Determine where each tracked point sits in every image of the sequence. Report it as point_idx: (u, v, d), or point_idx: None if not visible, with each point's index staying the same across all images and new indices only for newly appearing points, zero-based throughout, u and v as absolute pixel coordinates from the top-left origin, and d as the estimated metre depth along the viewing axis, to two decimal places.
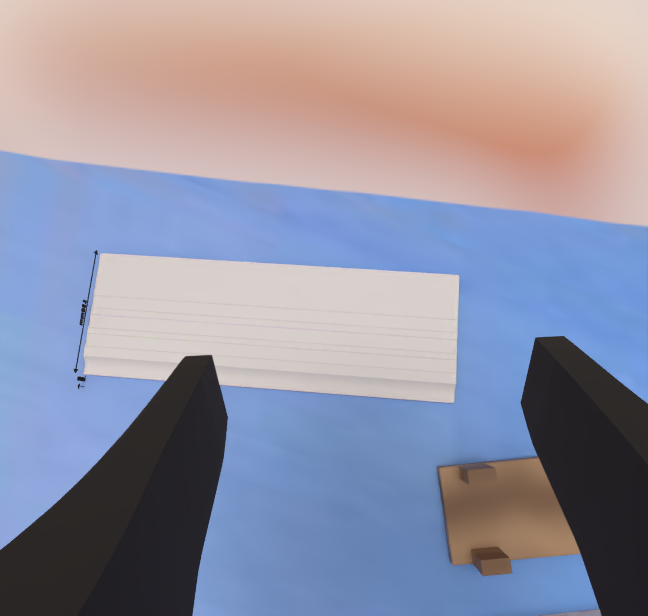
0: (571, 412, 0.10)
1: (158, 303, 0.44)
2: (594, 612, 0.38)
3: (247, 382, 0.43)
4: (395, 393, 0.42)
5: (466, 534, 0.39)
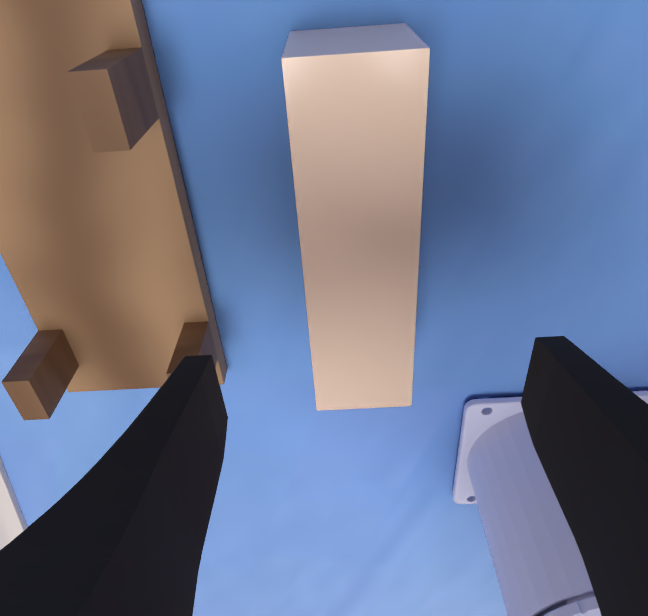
0: (571, 411, 0.10)
1: None
2: None
3: None
4: None
5: None
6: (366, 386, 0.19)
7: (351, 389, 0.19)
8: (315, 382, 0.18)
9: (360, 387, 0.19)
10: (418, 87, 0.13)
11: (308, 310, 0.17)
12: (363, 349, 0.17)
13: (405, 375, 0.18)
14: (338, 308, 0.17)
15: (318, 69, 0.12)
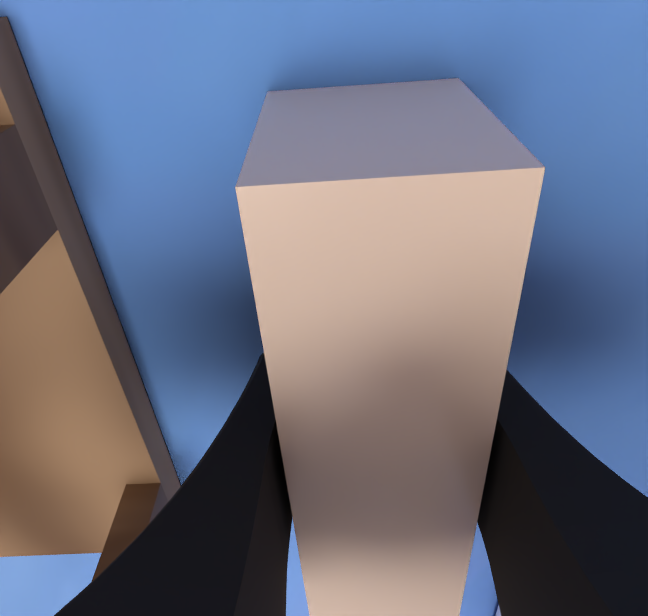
0: None
1: None
2: None
3: None
4: None
5: None
6: None
7: None
8: (311, 614, 0.12)
9: None
10: (513, 237, 0.06)
11: (299, 540, 0.10)
12: (386, 581, 0.11)
13: (448, 606, 0.12)
14: (347, 538, 0.10)
15: (313, 207, 0.06)
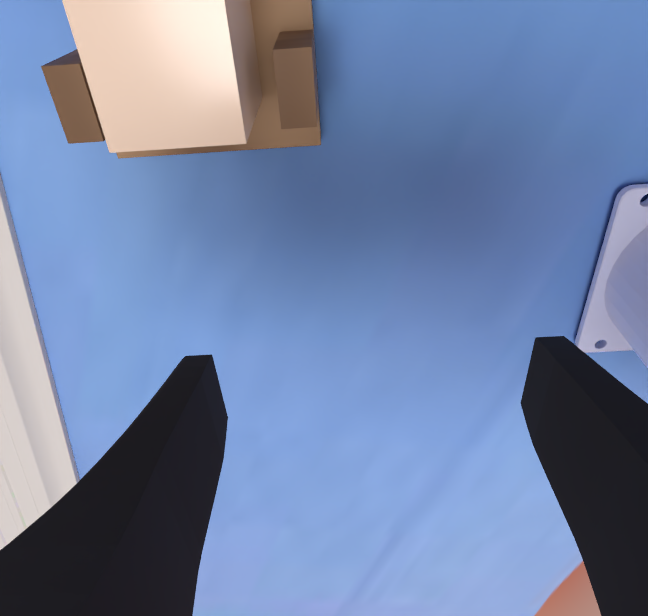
0: (571, 412, 0.10)
1: None
2: None
3: (55, 431, 0.27)
4: None
5: None
6: (171, 103, 0.12)
7: (150, 108, 0.13)
8: (93, 93, 0.12)
9: (163, 104, 0.12)
10: None
11: None
12: (149, 20, 0.11)
13: (224, 78, 0.12)
14: None
15: None
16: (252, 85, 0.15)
